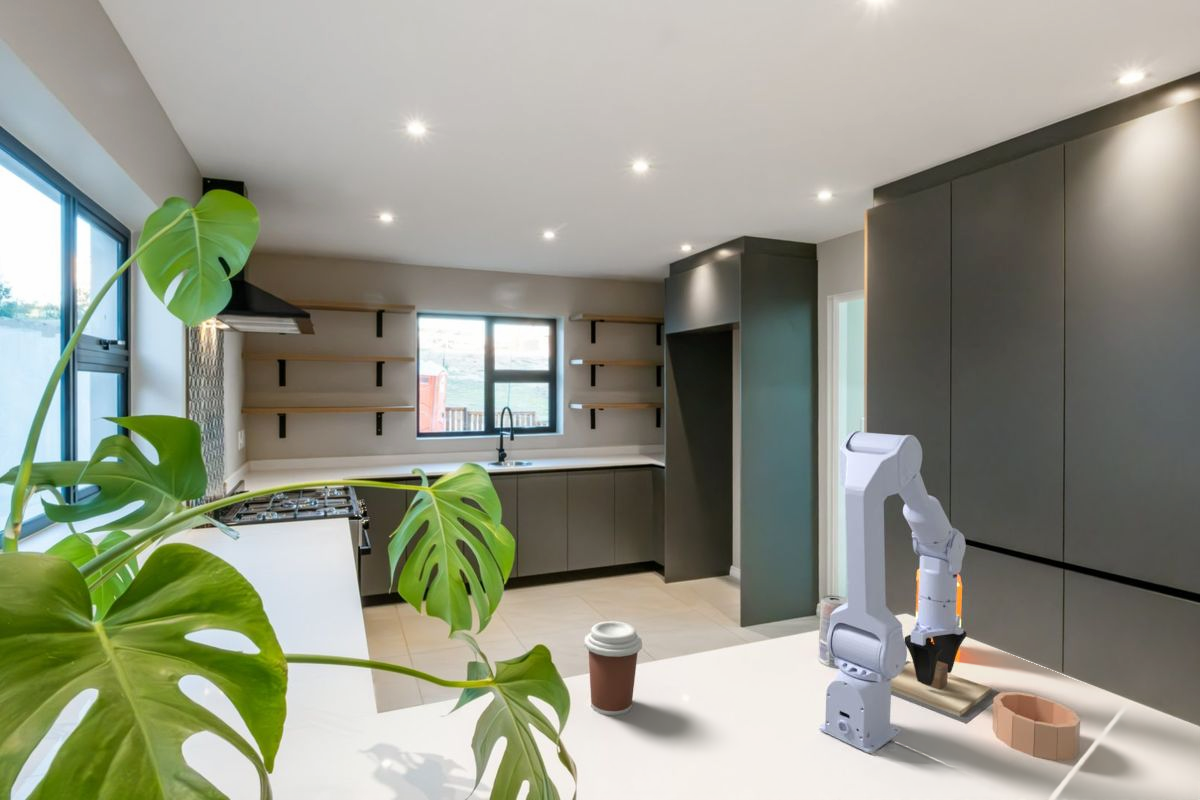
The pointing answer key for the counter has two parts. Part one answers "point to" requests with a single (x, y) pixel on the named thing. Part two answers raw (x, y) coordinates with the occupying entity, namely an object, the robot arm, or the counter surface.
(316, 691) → the counter surface
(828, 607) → the energy drink
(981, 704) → the mat
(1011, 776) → the counter surface
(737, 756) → the counter surface
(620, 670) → the coffee cup
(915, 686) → the lid
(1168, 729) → the counter surface
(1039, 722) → the bowl
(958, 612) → the orange juice
